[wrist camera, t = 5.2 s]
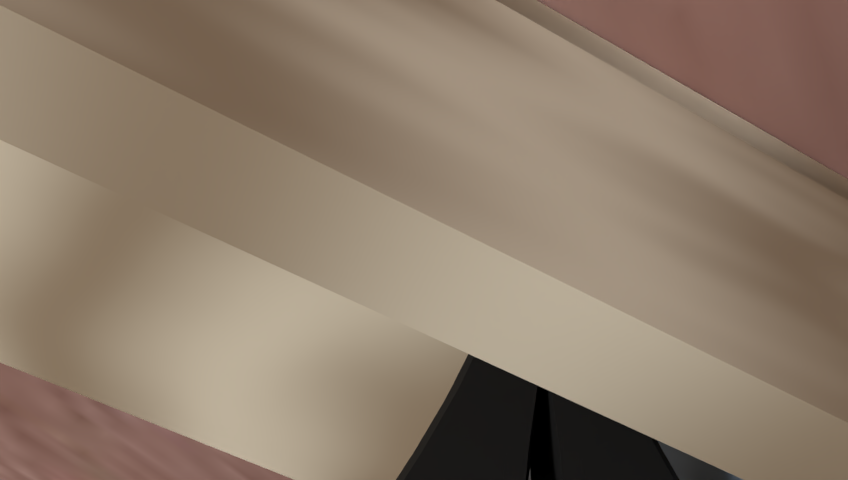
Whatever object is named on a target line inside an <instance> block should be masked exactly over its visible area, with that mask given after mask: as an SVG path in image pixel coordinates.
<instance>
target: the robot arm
mask: <svg viewBox="0 0 848 480" xmlns="http://www.w3.org/2000/svg"><path fill="white" fill-rule="evenodd" d="M529 472H530V475H531V480H679V478H678V476H677V475H676V473H675V471H674V469H673V468H672V466H671V464H670V462H669V461H668V459H667V457H666V455H665V454H664V452H663V450H662V448H661V446H660V445H659V443H658V441H657V440H656V439H654V438H651V437H649V436H647V435H645V434H643V433H640V432H638V431H636V430H634V429H632V428H629V427H627V426H625V425H623V424H621V423H619V422H616V421H614V420H612V419H610V418H608V417H605V416H603V415H601V414H599V413H597V412H594V411H592V410H590V409H588V408H586V407H584V406H581V405H579V404H577V403H575V402H573V401H570V400H568V399H566V398H564V397H562V396H559V395H557V394H555V393H553V392H551V391H549V390H546V389H544V388H542V387H540V386H538V385H535V384H533V383H531V382H529V381H527V380H524V379H522V378H520V377H518V376H516V375H514V374H511V373H509V372H507V371H505V370H503V369H500V368H498V367H496V366H494V365H492V364H489V363H487V362H485V361H483V360H481V359H479V358H476V357H474V356H472V355H470V354H468V356H467V358H466V360H465V362H464V363H463V365H462V367H461V369H460V371H459V373H458V375H457V377H456V379H455V381H454V383H453V385H452V387H451V389H450V391H449V393H448V395H447V397H446V399H445V400H444V402H443V404H442V406H441V407H440V409H439V411H438V412H437V414H436V416H435V417H434V419H433V421H432V422H431V424H430V426H429V428H428V429H427V431H426V433H425V434H424V436H423V438H422V439H421V441H420V443H419V444H418V446H417V448H416V449H415V451H414V453H413V454H412V456H411V457H410V459H409V460H408V462H407V463H406V465H405V466H404V468H403V470H402V471H401V473H400V474H399V476H398V477H397V479H396V480H529Z"/></svg>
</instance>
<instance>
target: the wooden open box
mask: <svg viewBox="0 0 848 480" xmlns="http://www.w3.org/2000/svg"><path fill="white" fill-rule="evenodd" d="M468 354H470V355H472V356H474V357H476V358H479V359H481V360H483V361H485V362H487V363H489V364H492V365H494V366H496V367H498V368H500V369H503V370H505V371H507V372H509V373H511V374H514V375H516V376H518V377H520V378H522V379H524V380H527V381H529V382H531V383H533V384H535V385H538V386H540V387H542V388H544V389H546V390H549V391H551V392H553V393H555V394H557V395H559V396H562V397H564V398H566V399H568V400H570V401H573V402H575V403H577V404H579V405H581V406H584V407H586V408H588V409H590V410H592V411H594V412H597V413H599V414H601V415H603V416H605V417H608V418H610V419H612V420H614V421H616V422H619V423H621V424H623V425H625V426H627V427H629V428H632V429H634V430H636V431H638V432H640V433H643V434H645V435H647V436H649V437H651V438H654V439H656V440H658V441H660V442H662V443H664V444H667V445H669V446H671V447H673V448H675V449H678V450H680V451H682V452H684V453H686V454H689V455H691V456H693V457H695V458H697V459H699V460H702V461H704V462H706V463H708V464H710V465H713V466H715V467H717V468H719V469H721V470H724V471H726V472H728V473H730V474H732V475H734V476H737V477H739V478H741V479H743V480H848V179H846V178H844V177H843V176H841V175H839V174H837V173H836V172H834V171H832V170H830V169H829V168H827V167H825V166H823V165H822V164H820V163H818V162H816V161H815V160H813V159H811V158H810V157H808V156H806V155H804V154H803V153H801V152H799V151H797V150H796V149H794V148H792V147H790V146H789V145H787V144H785V143H783V142H782V141H780V140H778V139H777V138H775V137H773V136H771V135H770V134H768V133H766V132H764V131H763V130H761V129H759V128H757V127H756V126H754V125H752V124H750V123H749V122H747V121H745V120H744V119H742V118H740V117H738V116H737V115H735V114H733V113H731V112H730V111H728V110H726V109H724V108H723V107H721V106H719V105H717V104H716V103H714V102H712V101H710V100H709V99H707V98H705V97H704V96H702V95H700V94H698V93H697V92H695V91H693V90H691V89H690V88H688V87H686V86H684V85H683V84H681V83H679V82H677V81H676V80H674V79H672V78H671V77H669V76H667V75H665V74H664V73H662V72H660V71H658V70H657V69H655V68H653V67H651V66H650V65H648V64H646V63H644V62H643V61H641V60H639V59H637V58H636V57H634V56H632V55H631V54H629V53H627V52H625V51H624V50H622V49H620V48H618V47H617V46H615V45H613V44H611V43H610V42H608V41H606V40H604V39H603V38H601V37H599V36H598V35H596V34H594V33H592V32H591V31H589V30H587V29H585V28H584V27H582V26H580V25H578V24H577V23H575V22H573V21H571V20H570V19H568V18H566V17H565V16H563V15H561V14H559V13H558V12H556V11H554V10H552V9H551V8H549V7H547V6H545V5H544V4H542V3H540V2H538V1H537V0H0V363H3V364H5V365H8V366H10V367H13V368H15V369H18V370H20V371H23V372H25V373H28V374H30V375H33V376H35V377H38V378H40V379H43V380H45V381H48V382H50V383H53V384H55V385H58V386H61V387H63V388H66V389H68V390H71V391H73V392H76V393H78V394H81V395H83V396H86V397H88V398H91V399H93V400H96V401H98V402H101V403H103V404H106V405H108V406H111V407H113V408H116V409H118V410H121V411H123V412H126V413H128V414H131V415H133V416H136V417H138V418H141V419H143V420H146V421H148V422H151V423H153V424H156V425H158V426H161V427H163V428H166V429H168V430H171V431H173V432H176V433H178V434H181V435H183V436H186V437H189V438H191V439H194V440H196V441H199V442H201V443H204V444H206V445H209V446H211V447H214V448H216V449H219V450H221V451H224V452H226V453H229V454H231V455H234V456H236V457H239V458H241V459H244V460H246V461H249V462H251V463H254V464H256V465H259V466H261V467H264V468H266V469H269V470H271V471H274V472H276V473H279V474H281V475H284V476H286V477H289V478H291V479H294V480H396V479H397V477H398V476H399V474H400V473H401V471H402V470H403V468H404V466H405V465H406V463H407V462H408V460H409V459H410V457H411V456H412V454H413V453H414V451H415V449H416V448H417V446H418V444H419V443H420V441H421V439H422V438H423V436H424V434H425V433H426V431H427V429H428V428H429V426H430V424H431V422H432V421H433V419H434V417H435V416H436V414H437V412H438V411H439V409H440V407H441V406H442V404H443V402H444V400H445V399H446V397H447V395H448V393H449V391H450V389H451V387H452V385H453V383H454V381H455V379H456V377H457V375H458V373H459V371H460V369H461V367H462V365H463V363H464V362H465V360H466V358H467V356H468ZM529 480H531V475H530V472H529Z"/></svg>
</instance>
